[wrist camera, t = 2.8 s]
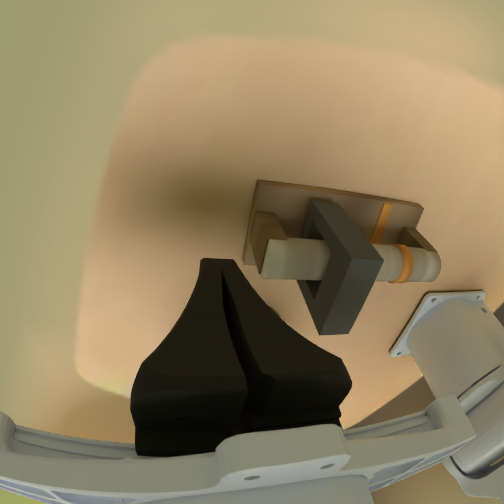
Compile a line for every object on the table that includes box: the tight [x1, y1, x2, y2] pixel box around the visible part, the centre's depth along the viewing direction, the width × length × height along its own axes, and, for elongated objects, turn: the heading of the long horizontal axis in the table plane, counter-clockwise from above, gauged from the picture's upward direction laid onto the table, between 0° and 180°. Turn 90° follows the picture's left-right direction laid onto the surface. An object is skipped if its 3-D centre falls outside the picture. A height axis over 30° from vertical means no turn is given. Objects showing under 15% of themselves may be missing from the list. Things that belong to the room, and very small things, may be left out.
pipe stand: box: [242, 180, 441, 283], centre depth 17 cm, size 11×5×4 cm, turn 80°
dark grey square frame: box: [297, 200, 384, 335], centre depth 16 cm, size 2×4×5 cm, turn 170°
